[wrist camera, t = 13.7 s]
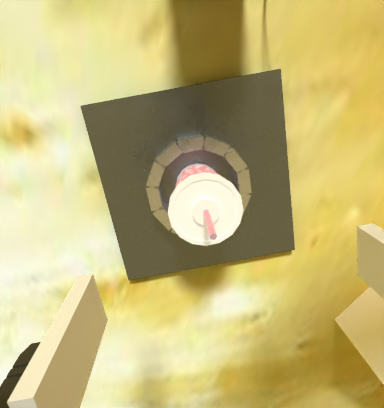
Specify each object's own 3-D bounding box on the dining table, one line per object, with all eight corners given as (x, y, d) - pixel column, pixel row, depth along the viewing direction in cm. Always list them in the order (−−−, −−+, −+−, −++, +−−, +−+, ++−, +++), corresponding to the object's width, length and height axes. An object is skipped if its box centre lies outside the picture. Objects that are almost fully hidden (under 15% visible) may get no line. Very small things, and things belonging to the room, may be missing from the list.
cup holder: (83, 105, 31) (72, 105, 28) (277, 69, 31) (289, 65, 28) (129, 275, 37) (125, 292, 34) (291, 246, 37) (303, 259, 34)
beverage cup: (198, 221, 35) (213, 294, 21) (157, 185, 33) (146, 239, 20) (237, 182, 33) (279, 233, 20) (196, 143, 32) (213, 171, 19)
